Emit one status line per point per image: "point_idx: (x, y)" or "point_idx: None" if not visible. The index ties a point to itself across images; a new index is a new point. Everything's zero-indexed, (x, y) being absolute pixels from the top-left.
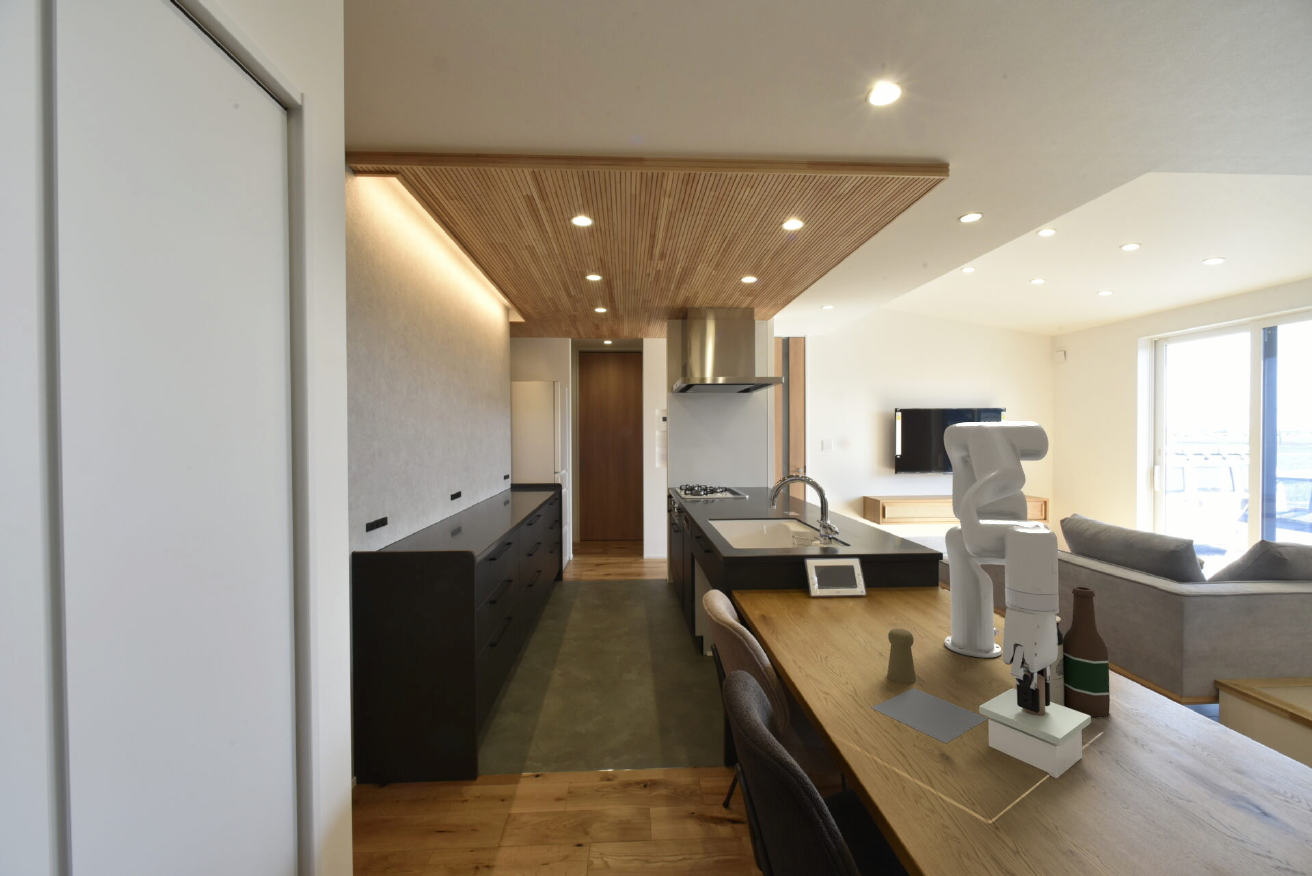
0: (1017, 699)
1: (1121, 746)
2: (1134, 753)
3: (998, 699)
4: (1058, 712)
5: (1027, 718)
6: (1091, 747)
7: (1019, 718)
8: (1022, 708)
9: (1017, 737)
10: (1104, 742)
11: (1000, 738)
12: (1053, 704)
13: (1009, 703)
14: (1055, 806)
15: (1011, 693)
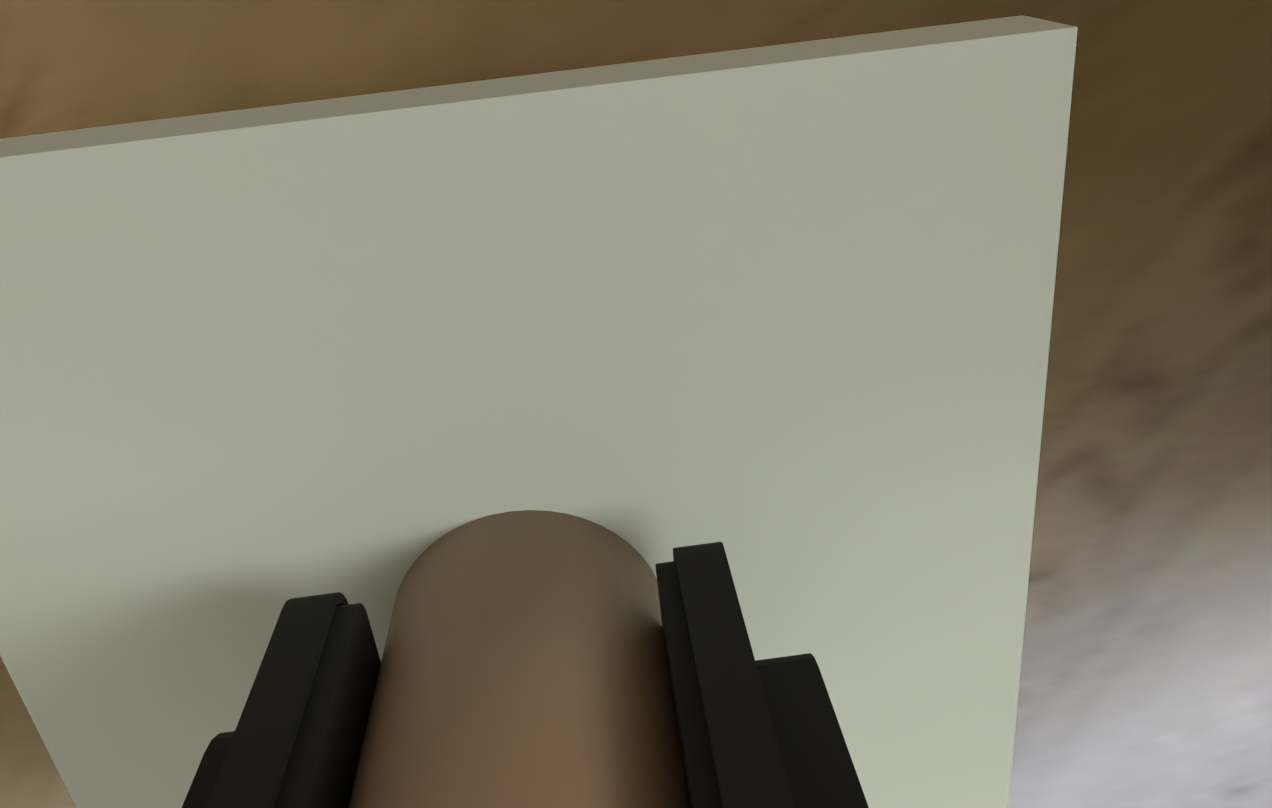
0: (261, 664)
1: (1242, 600)
2: (1194, 673)
3: (374, 192)
4: None
5: (232, 702)
6: (1044, 523)
7: (126, 662)
8: (444, 536)
9: None
10: (1216, 527)
11: None
12: (972, 625)
13: (424, 357)
14: (2, 774)
15: (828, 164)
